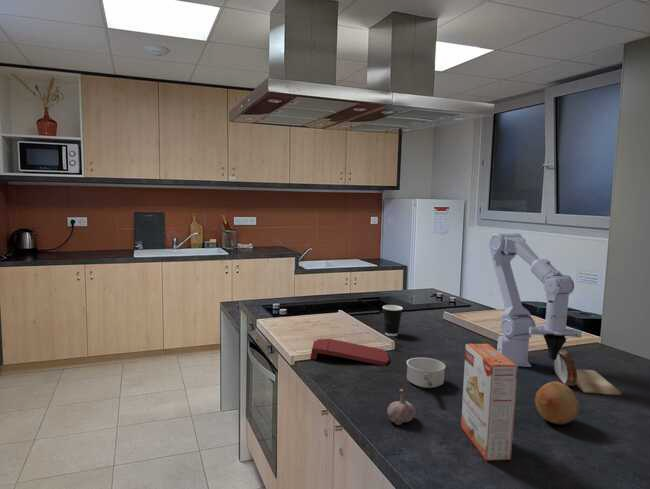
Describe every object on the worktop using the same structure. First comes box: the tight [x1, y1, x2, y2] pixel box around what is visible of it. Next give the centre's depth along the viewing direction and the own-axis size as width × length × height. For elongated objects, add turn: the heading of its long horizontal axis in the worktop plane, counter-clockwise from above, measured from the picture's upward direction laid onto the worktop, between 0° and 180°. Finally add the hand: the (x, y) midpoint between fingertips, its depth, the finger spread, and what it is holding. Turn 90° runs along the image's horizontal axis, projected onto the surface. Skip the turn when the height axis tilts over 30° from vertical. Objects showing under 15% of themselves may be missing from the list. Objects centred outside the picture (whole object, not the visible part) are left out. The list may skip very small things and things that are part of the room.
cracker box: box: [460, 343, 519, 462], centre depth 102 cm, size 14×6×21 cm, turn 5°
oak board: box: [575, 368, 622, 396], centre depth 141 cm, size 10×17×1 cm, turn 173°
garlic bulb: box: [386, 388, 416, 426], centre depth 113 cm, size 8×7×8 cm
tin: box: [553, 349, 577, 387], centre depth 141 cm, size 15×3×8 cm, turn 168°
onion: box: [534, 380, 581, 425], centre depth 114 cm, size 10×10×10 cm
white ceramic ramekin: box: [405, 357, 447, 389], centre depth 133 cm, size 12×20×6 cm, turn 172°
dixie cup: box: [382, 304, 404, 337], centre depth 183 cm, size 8×8×11 cm
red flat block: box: [309, 338, 390, 366], centre depth 156 cm, size 12×5×26 cm
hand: (552, 358), depth 142 cm, fingers closed
